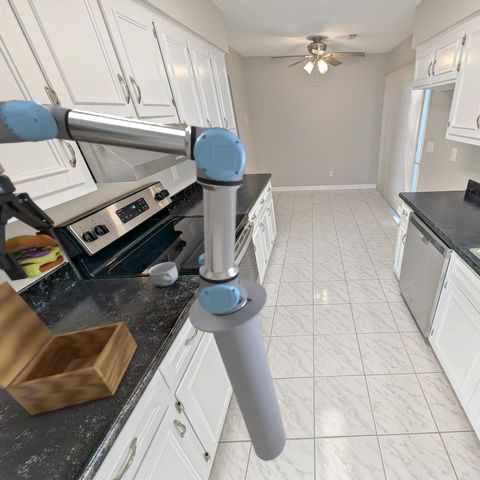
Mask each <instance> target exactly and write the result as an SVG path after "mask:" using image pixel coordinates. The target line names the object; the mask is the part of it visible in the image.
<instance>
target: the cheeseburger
mask: <svg viewBox="0 0 480 480" xmlns="http://www.w3.org/2000/svg"><path fill="white" fill-rule="evenodd" d="M5 240H6V253H12V255H13V256H14V258H15V259H16V260H17V262H18V263H19V265H20V266H21V267H22V269H23V270H24V272H25V273H26V274H27V276H28V278H27V279H36V278H38V277H40V276H41V275H42V274H44V273H46V272H48V271H50V270H52V269H54V268H56V267H58V266H60V265H61V264H62V263H64V261H65V258H64V257H65V256H64V254H65V252H64V251H63V250H62V251H60V248H61V247H60V246H59V247H60V248H59V247H57V246H55V245H57V244H58V245H60V241H58V242H57V240H56V241H55V240H54V239H53V238H51V237H49V236H47V235H36V234H35V235H32V234H21V235H17V236H13V237H10V238H7V239H5Z"/></svg>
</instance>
